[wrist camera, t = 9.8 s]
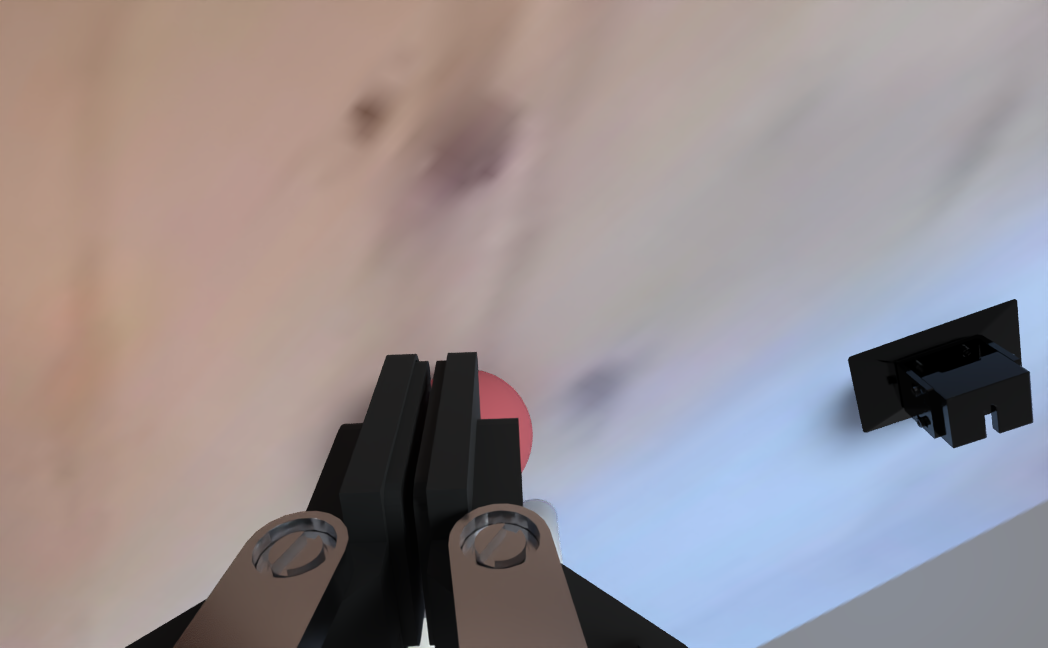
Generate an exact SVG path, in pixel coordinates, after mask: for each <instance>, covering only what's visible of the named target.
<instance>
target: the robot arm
mask: <svg viewBox="0 0 1048 648" xmlns="http://www.w3.org/2000/svg"><path fill="white" fill-rule="evenodd" d="M425 612H426V621H427V630H428V638H429V644H430V646H434V645H435V648H688V647H687V646H686V645H685V644H683V643H682V642H680V641H679V640H677V639H675V638H674V637H672V636H671V635H669V634H668V633H666V632H665V631H663V630H662V629H660V628H659V627H657V626H656V625H654V624H653V623H651V622H650V621H648V620H647V619H645V618H644V617H642V616H641V615H639V614H638V613H636V612H634V611H633V610H631V609H630V608H628V607H627V606H625V605H624V604H622V603H621V602H619V601H618V600H616V599H615V598H613V597H612V596H610V595H609V594H607V593H606V592H604V591H603V590H601V589H600V588H598V587H597V586H595V585H593V584H592V583H590V582H589V581H587V580H586V579H584V578H583V577H581V576H580V575H578V574H577V573H575V572H574V571H572V570H571V569H569V568H568V567H566V566H565V565H563V564H562V563H560V559H559V556H558V553H557V550H556V547H555V544H554V541H553V537H552V534H551V531H550V529H549V527H548V526H547V524H546V522H545V520H544V519H542V518H541V517H540V516H539V515H538V514H537V513H535V512H534V511H532V510H529V509H527V508H525V507H523V495H522V475H521V456H520V437H519V419H518V418H499V419H481V413H480V394H479V376H478V359H477V352H464V353H448V355H447V360H446V361H437V362H436V366H435V372H434V377H433V382H432V388H431V377H430V367H429V362H428V361H419V359H418V356H417V354H403V355H387V356H386V359H385V361H384V364H383V367H382V370H381V373H380V376H379V379H378V382H377V385H376V387H375V390H374V393H373V396H372V399H371V402H370V405H369V408H368V411H367V414H366V416H365V419H364V422H363V423H356V424H343V425H341V427H340V429H339V430H338V433H337V435H336V438H335V440H334V443H333V445H332V448H331V450H330V453H329V455H328V458H327V460H326V463H325V465H324V468H323V470H322V473H321V475H320V478H319V480H318V483H317V485H316V488H315V490H314V493H313V495H312V498H311V500H310V503H309V505H308V508H307V510H306V511H303V512H297V513H293V514H289V515H285V516H283V517H280V518H278V519H276V520H274V521H271V522H269V523H268V524H266V525H265V526H264V527H262V528H261V529H259V530H258V531H256V532H255V533H254V535H253V536H252V537H251V538H250V539H249V540H248V541H247V542H246V543H245V545H244V546H243V548H242V549H241V551H240V552H239V554H238V555H237V556H236V558H235V559H234V561H233V562H232V564H231V565H230V566H229V568H228V569H227V571H226V572H225V574H224V575H223V576H222V578H221V579H220V581H219V582H218V584H217V585H216V587H215V588H214V589H213V591H212V592H211V594H210V595H209V597H208V598H207V599H206V600H204V601H202V602H201V603H199V604H197V605H196V606H194V607H192V608H191V609H189V610H187V611H186V612H184V613H182V614H181V615H179V616H177V617H175V618H174V619H172V620H170V621H169V622H167V623H165V624H164V625H162V626H160V627H159V628H157V629H155V630H154V631H152V632H150V633H149V634H147V635H145V636H144V637H142V638H140V639H139V640H137V641H135V642H133V643H132V644H130V645H128V646H127V647H125V648H408V647H412V646H420V643H421V636H422V629H423V621H424V613H425Z"/></svg>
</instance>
